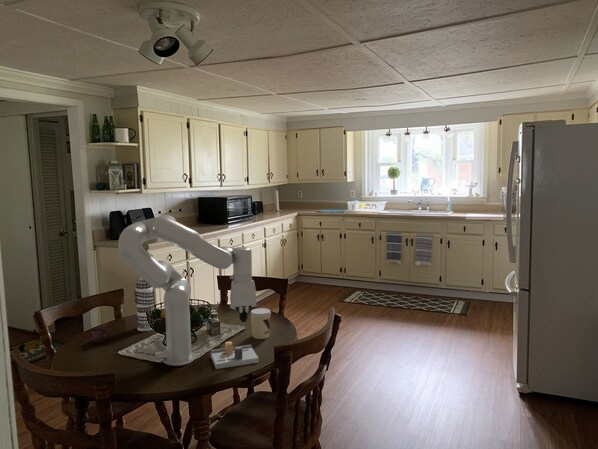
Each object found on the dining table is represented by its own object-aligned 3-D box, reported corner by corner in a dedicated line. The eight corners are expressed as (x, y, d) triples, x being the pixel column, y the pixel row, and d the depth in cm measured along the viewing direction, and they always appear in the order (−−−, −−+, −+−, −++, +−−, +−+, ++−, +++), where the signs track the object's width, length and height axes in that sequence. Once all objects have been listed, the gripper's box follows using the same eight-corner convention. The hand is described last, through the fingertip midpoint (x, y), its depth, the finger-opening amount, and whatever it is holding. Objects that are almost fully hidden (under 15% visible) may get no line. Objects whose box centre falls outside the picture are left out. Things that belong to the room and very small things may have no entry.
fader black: (236, 359, 181) (236, 349, 181) (234, 356, 184) (234, 346, 184) (242, 358, 182) (242, 348, 181) (240, 355, 185) (240, 345, 184)
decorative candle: (133, 327, 224) (130, 277, 221) (151, 323, 230) (149, 274, 227) (140, 332, 218) (137, 281, 214) (158, 328, 223) (156, 278, 220)
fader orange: (226, 354, 186) (226, 344, 186) (225, 351, 189) (225, 341, 189) (232, 353, 187) (232, 343, 187) (231, 350, 190) (231, 340, 190)
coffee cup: (268, 340, 207) (267, 314, 206) (248, 338, 209) (247, 313, 207) (273, 333, 216) (273, 308, 215) (254, 331, 218) (253, 307, 216)
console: (215, 369, 178) (215, 361, 177) (211, 357, 189) (210, 350, 189) (258, 362, 184) (258, 355, 183) (251, 351, 195) (251, 344, 194)
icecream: (101, 334, 198) (115, 325, 213) (84, 330, 198) (99, 321, 213) (98, 349, 198) (111, 339, 213) (81, 345, 198) (96, 335, 213)
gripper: (226, 281, 180) (227, 326, 182) (262, 278, 185) (263, 321, 188) (222, 277, 187) (223, 320, 189) (258, 274, 192) (258, 316, 195)
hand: (243, 321), depth 189 cm, fingers closed
